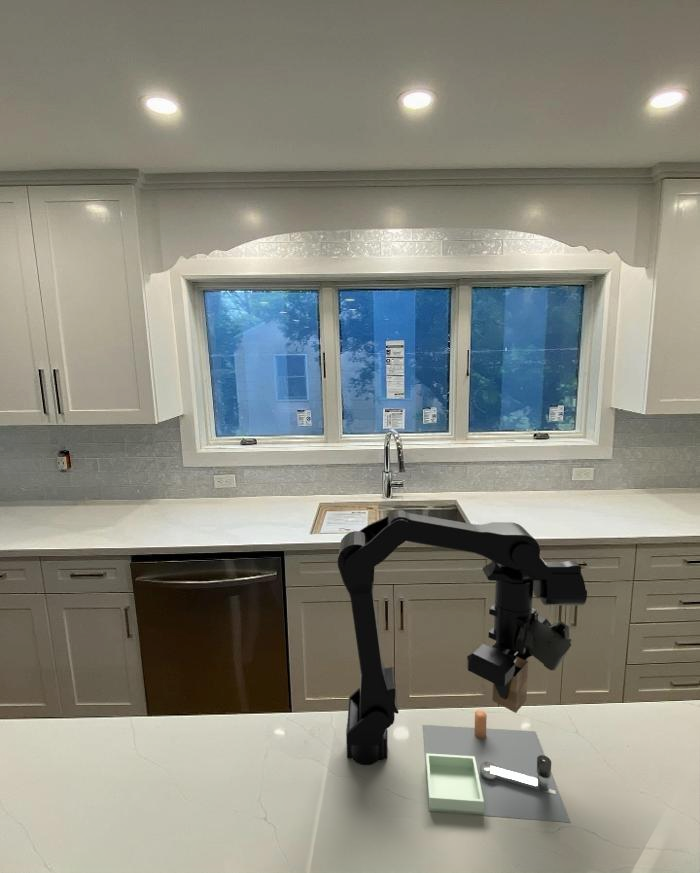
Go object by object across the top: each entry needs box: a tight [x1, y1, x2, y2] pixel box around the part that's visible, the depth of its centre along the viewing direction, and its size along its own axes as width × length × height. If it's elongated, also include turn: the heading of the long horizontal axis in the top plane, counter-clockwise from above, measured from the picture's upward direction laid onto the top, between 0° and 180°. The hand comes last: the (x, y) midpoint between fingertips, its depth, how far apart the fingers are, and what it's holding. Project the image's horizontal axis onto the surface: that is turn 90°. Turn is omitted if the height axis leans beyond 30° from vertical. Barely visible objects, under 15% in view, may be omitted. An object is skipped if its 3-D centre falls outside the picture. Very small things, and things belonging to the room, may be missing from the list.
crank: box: [480, 755, 552, 791], centre depth 71 cm, size 10×3×5 cm, turn 69°
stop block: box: [492, 656, 529, 714], centre depth 75 cm, size 4×4×7 cm
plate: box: [422, 709, 571, 824], centre depth 73 cm, size 20×16×5 cm
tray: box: [425, 753, 484, 816], centre depth 70 cm, size 8×8×2 cm
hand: (509, 691), depth 75 cm, fingers closed on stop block, 4 cm apart
